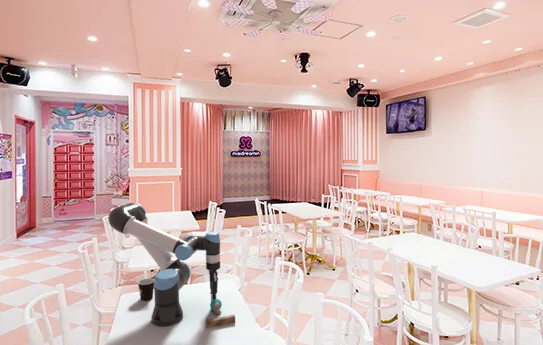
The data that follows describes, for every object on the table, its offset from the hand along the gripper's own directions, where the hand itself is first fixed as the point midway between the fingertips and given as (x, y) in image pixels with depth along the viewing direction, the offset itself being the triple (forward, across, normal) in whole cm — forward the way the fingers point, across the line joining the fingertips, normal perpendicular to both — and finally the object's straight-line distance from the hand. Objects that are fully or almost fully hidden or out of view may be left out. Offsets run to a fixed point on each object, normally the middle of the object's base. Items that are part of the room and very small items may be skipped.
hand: (213, 303), depth 172 cm
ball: (-1, -4, 0) cm, 4 cm away
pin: (+1, -7, 0) cm, 7 cm away
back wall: (+2, -18, 0) cm, 18 cm away
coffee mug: (+2, +23, +34) cm, 41 cm away
